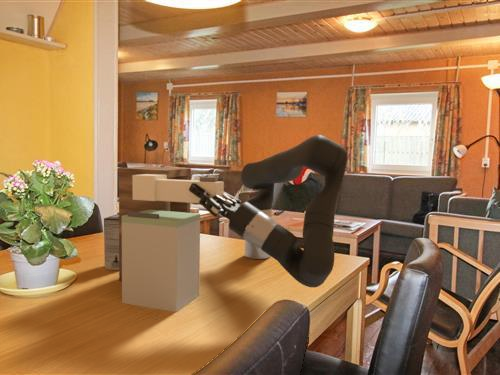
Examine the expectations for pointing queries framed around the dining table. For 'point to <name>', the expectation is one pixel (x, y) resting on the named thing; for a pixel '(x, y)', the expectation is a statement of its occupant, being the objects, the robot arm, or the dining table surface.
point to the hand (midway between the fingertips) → (195, 185)
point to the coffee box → (111, 242)
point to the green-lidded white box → (160, 259)
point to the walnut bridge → (141, 205)
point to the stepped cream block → (172, 188)
